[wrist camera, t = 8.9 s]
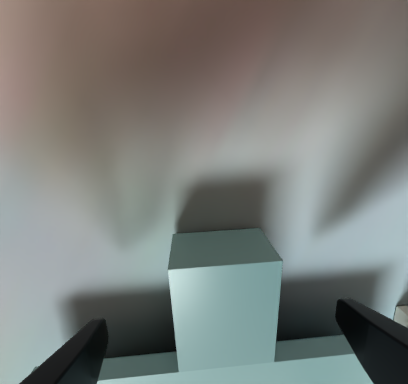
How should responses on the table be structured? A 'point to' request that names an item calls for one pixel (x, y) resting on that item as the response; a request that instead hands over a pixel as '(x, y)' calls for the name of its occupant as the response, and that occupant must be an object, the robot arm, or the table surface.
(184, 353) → the lid
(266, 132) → the table surface
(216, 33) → the table surface
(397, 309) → the tub
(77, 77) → the table surface
